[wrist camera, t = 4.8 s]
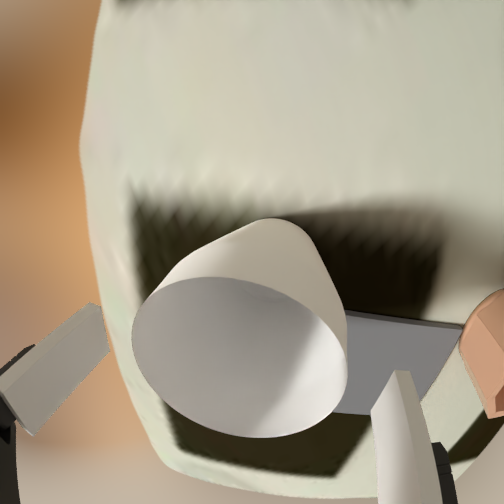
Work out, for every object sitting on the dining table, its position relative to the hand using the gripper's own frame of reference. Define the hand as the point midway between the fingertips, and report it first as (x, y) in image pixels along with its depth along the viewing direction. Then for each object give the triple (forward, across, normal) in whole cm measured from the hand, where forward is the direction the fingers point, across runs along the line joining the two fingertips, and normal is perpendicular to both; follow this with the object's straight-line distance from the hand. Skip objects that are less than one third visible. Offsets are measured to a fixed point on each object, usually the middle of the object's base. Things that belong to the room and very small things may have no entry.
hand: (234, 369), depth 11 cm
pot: (+11, +23, -2) cm, 26 cm away
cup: (+11, 0, +1) cm, 11 cm away
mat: (+11, +12, -8) cm, 19 cm away
